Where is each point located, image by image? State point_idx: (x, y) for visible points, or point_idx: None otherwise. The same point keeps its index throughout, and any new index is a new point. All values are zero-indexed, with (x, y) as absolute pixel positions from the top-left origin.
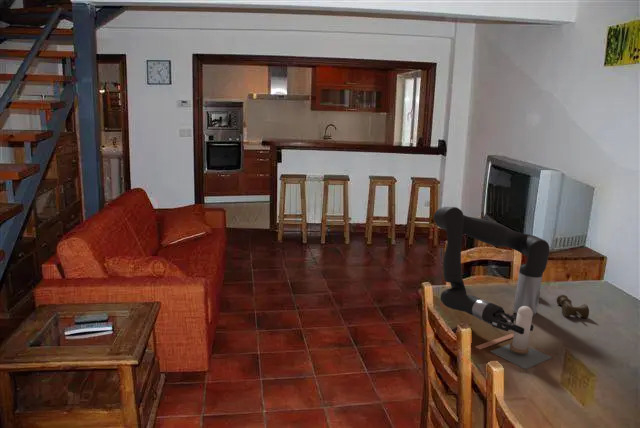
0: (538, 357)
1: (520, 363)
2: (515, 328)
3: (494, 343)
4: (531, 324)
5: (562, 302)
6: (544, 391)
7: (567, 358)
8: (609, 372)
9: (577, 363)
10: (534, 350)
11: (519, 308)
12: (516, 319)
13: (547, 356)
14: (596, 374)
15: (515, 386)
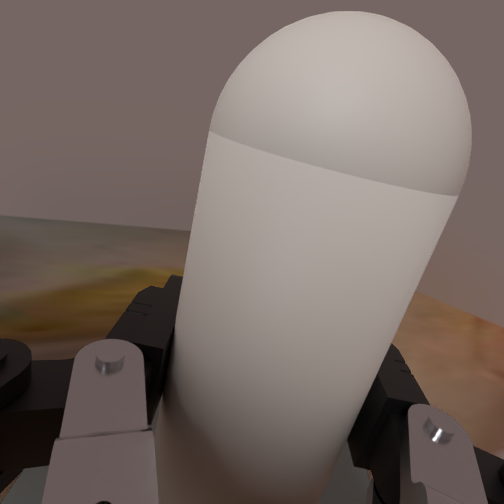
0: (153, 427)
1: (339, 474)
2: (413, 394)
3: None
4: (170, 282)
5: None
6: (396, 344)
7: (30, 332)
8: (76, 248)
9: (67, 303)
10: (36, 489)
11: (456, 98)
12: (388, 334)
13: None
14: (125, 267)
15: (499, 413)
